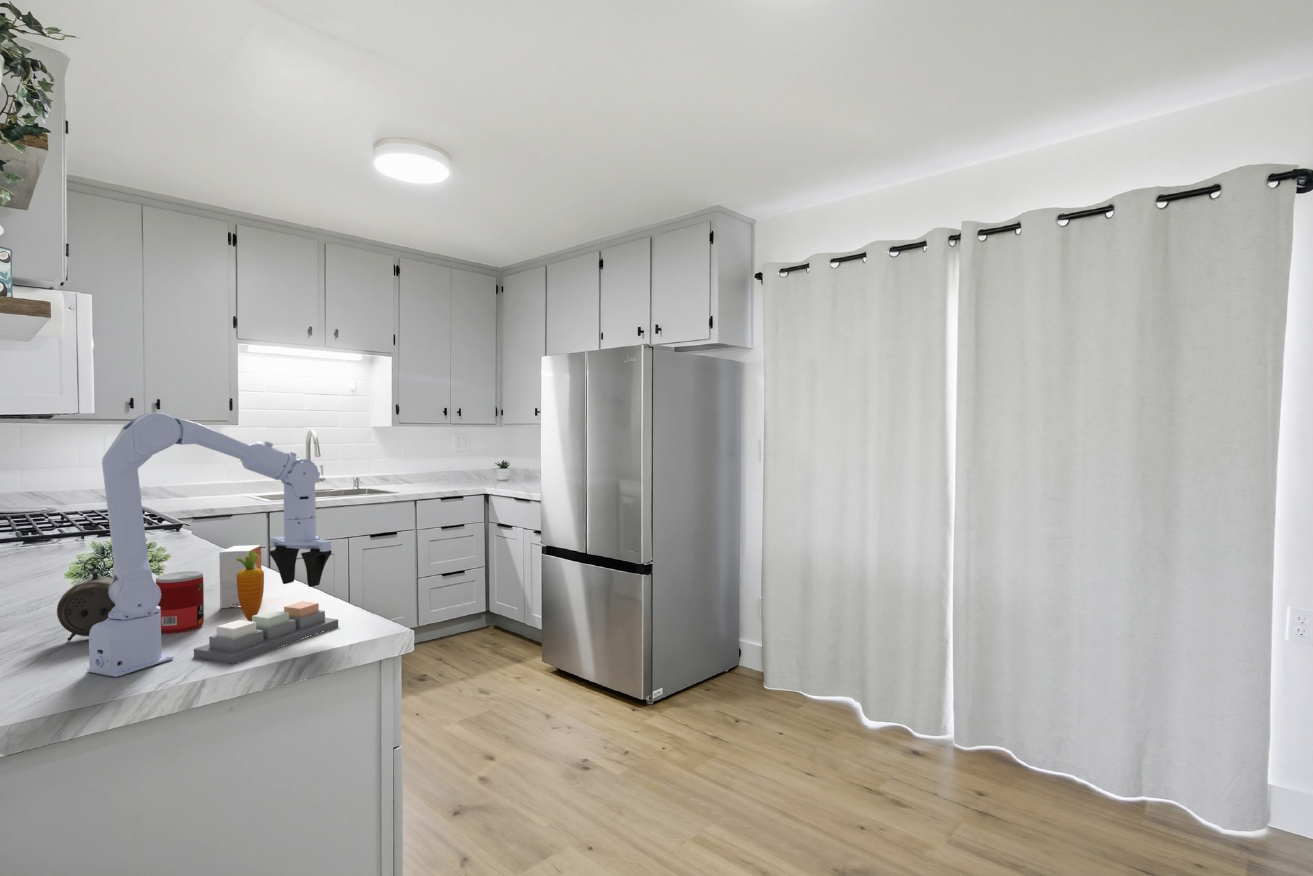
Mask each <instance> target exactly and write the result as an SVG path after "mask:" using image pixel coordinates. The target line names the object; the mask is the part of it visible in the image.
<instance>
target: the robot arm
mask: <svg viewBox="0 0 1313 876" xmlns="http://www.w3.org/2000/svg"><path fill="white" fill-rule="evenodd" d="M174 445H179V446H180V445H181V446H183V445H198V446H201V447H203V448H206V449H210V450H213V451H216V452H218V453H221V454H224V455H227V456H230V457H233V458H236V459H238V460H240V462H241V464H242V466H243V468H244V469H245V470H248V471H251V472H254V473H257V474H259V475H262V476H264V477H268V478H269V479H270V478H271V479H273V480H276V481H281V483H282V484H283V536H275V537H270V539H269V540H270V542H269V543H270V545H269V546H270V548H274V549H272V550H269V556H270V557H271V558H272V560H273V561H274V563H275V565H276V567H277V570H278V573H279V575H280V579H281V581H282V584H283V585H287V584H292V583H294V581H295V577H296V563H297V559H298V554H299V551H300V550H308V551H305V552H300V553H301V554H300V555H301V557H302V559H303V562H304V565H305V570H306V580H307V587H309V588H312V587H316V586H319V585H320V583H321V580H322V576H323V572H324V569H325V567H326V564H327V562H328V559H330V556H331V555H332V540H328V539H324V538H320V536H318V535H317V517H316V516H317V515H316V513H317V512H316V511H317V509H316V504H317V503H316V484H317V482H318V481H319V479H320V476H321V475H320V474H321V472H319V470H318V467H317V465H316V464H315V463H314V462H313V461H312V460H309V459H305V458H300V457H297V453H296V452H293V451H290V452H287V451H284V450H282V449H279V448H277V447H274V446H273V445H274V443H272V442H270V441H268V440H267V441H266V440H265V441H264V442H261V441H255V442H253V443H249V444H248V443H246V442H243V441H240V440H238V439H236V438H234V437H232V436H229V435H226V434H224V433H222V432H220V431H217V430H214V429H212V428H210V427H208V426H205V425H204V424H203V425H202V424H200V423H199V422H195V421H191V420H187V419H183V418H179V417H173V416H170V415H168V414H166V413H160V412H156V413H144V414H140V415H138V416H137V417H135V418H133V419H132V420H131V421H129V422H128V423H127V424H124V425H123V426H122V427H121V429H120V432H118V434H117V436H116V438H115V439H114V441H113V442H112V443H111V445H110V447H109V448H108V449H107V451H106V452H105V453H104V455H103V457H102V460H101V467H102V472H103V476H102V477H103V483H104V492H105V501H106V507H107V515H108V516H107V519H108V523H109V524H108V525H109V532H110V541H111V543H110V544H111V549H112V558H113V565H112V572H113V574H112V578H113V580H112V582H111V584H110V586H109V591H108V593H109V597H110V599H111V601H113V602H114V603H115V605H116V606H114V607H113V609H112V610H111V612H109V613H108V617H109V618H107V619H106V620H104V621H103V622H100V623H97V624H95V625H93V626H92V628H91V630H90V633H89V637H88V657H89V658H88V661H89V662H88V663H89V665H88V666H89V667H88V668H86V671H87V672H89V673H95V674H99V675H102V676H103V675H104V676H109V677H113V678H117V677H121V676H124V675H127V674H129V673H130V674H131V673H132V672H137V671H139V670H142V669H146V668H149V667H152V666H156V665H158V664H161V663H164V662H167V661H171V660H173V659H174V656H173V655H171V654H163V653H162V633H161V611H160V610H161V609H160V606H157V605H158V604H159V602H160V599H161V591H160V588H159V586H158V585H157V584H156V581H155V580H154V578H153V572H152V568H151V565H150V561H149V557H148V555H149V554H148V547H147V538H146V532H145V521H144V513H143V505H142V496H141V488H140V478H139V468H141V466H142V465H144V464H145V463H146V462H147V461H148V460H150V458H152V457H153V455H156V454H158V453H160V452H162V451H164V450H166V449H169V448H171V447H172V446H174Z"/></svg>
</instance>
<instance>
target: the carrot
mask: <svg viewBox="0 0 1313 876" xmlns="http://www.w3.org/2000/svg"><path fill="white" fill-rule="evenodd" d="M249 556H250V559H249V557H248V556H245V559H246V561H244V560H243V559H242V558H239V557H238V558H237V559H236V560H238V561H240V562H241V563H242V564H243V565H244V566H245V568H246V569H243V570H241V571H239V572H238V573H237V591H238V598H239V602H240V606H241V607H240V609H241V611H242V613H243V615H244V617H245V618H246V621H251V622H252V616H254V615H257V614H259V611H260V609H261V606H262V603H263V597H264V588H265V587H264V585H265V571H264V570H263V569H262V568H261V569H259V568H254V564H255V562H256V559H257V557H258V555H257V554H254V551H249Z"/></svg>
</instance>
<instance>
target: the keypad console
mask: <svg viewBox="0 0 1313 876" xmlns="http://www.w3.org/2000/svg"><path fill="white" fill-rule="evenodd" d="M325 613H326V610H320V609H319V612H317V613H314V614H311V615H307V616H304V617H301V618H298V617H290V616H289V622H286V623H282V624H279V625H276V626H273V627H270V628H265V627H259V626H256V632H254V633H251V634H248V635H245V636H242V637H239V638H235V639H229V638H223V637H217V633H216V634H213V635H211V636H209V638H208V639H209V642H208V644H205V645H204V644H203V645H202V646H199V647H195V648H193V658H197V659H201V660H208V661H214V662H219V661H220V662H219V663H226V664H230V663H232V664H231V665H234V663H235V664H237V663H239V662H238V661H240V662H243V661H246V660H248V658H249V659H250V658H254V657H257V656H260V655H262V653H263V654H265V653H267V651H268V652H271V651H274V650H276V648H277V649H279V648H278V647H280V648H282V647H284V646H283V645H285V646H287V645H286V644H288V645H290V643H291V644H293V643H292V642H294V643H296V642H298V641H297V640H299V641H301V640H300V639H302V638H305V637H307V636H310V635H313V636H315V635H314V634H316V633H319V634H321V633H320V632H322V631H325V632H327V631H329V630H328V629H330V630H332V628H333V629H335V628H338V627H339V619H338V618H331V617H326V614H325ZM326 630H327V631H326ZM322 633H323V632H322ZM316 635H317V634H316ZM310 637H311V636H310ZM305 639H306V638H305ZM302 640H303V639H302ZM295 641H296V642H295ZM281 646H282V647H281ZM273 649H274V650H273ZM270 650H271V651H270ZM259 654H260V655H259ZM253 656H254V657H253ZM245 659H246V660H245Z"/></svg>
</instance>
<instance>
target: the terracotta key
mask: <svg viewBox="0 0 1313 876" xmlns="http://www.w3.org/2000/svg"><path fill="white" fill-rule="evenodd" d="M319 605H320V604H319V602H312V601H305V600H301V601H299V602H296V603H292V604H287V605H285V606H283V612H289V616H290V617H298V618H301V617H304V616H307V615H311V614H314V613H317V612H319V610H320V606H319Z"/></svg>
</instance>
